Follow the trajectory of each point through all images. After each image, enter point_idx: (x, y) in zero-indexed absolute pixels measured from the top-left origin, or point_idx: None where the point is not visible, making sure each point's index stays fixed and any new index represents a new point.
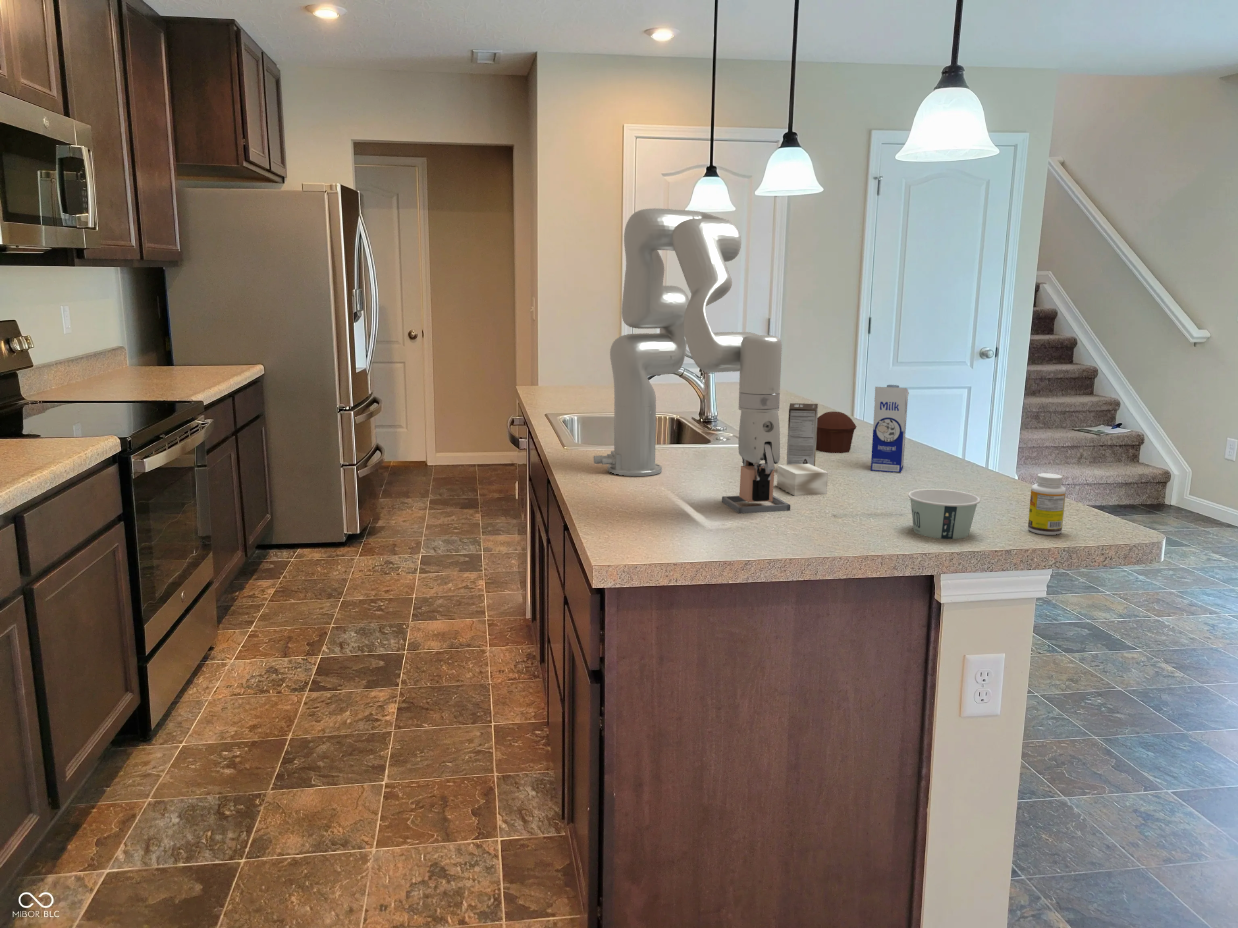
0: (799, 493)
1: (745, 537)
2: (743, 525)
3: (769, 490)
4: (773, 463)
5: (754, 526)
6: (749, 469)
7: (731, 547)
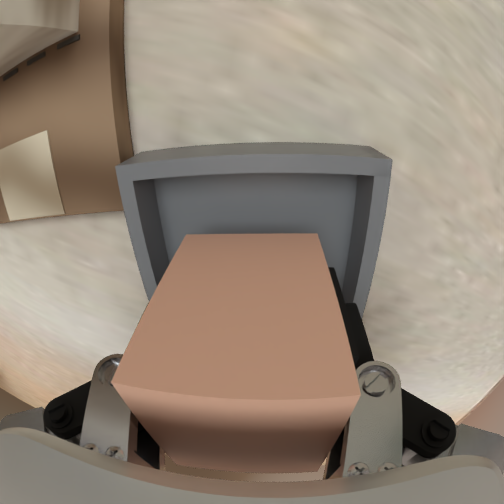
0: (72, 10)
1: (466, 345)
2: (396, 333)
3: (342, 299)
4: (502, 467)
5: (419, 312)
6: (281, 469)
7: (482, 368)
